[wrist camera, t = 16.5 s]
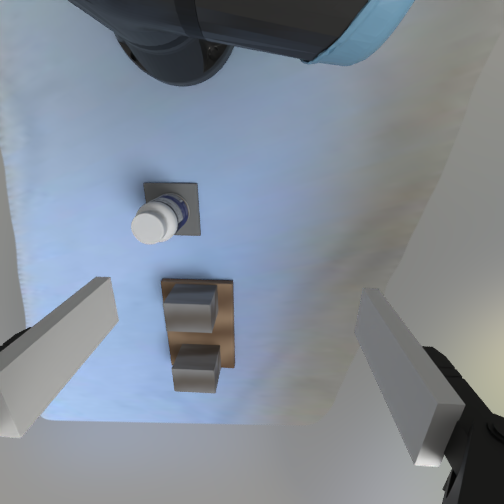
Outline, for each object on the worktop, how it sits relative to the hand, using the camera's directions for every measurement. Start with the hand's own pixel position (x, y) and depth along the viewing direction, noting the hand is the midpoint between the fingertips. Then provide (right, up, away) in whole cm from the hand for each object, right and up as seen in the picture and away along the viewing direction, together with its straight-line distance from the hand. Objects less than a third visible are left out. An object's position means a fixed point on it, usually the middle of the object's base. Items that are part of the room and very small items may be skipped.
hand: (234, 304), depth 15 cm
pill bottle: (-11, +9, +28) cm, 31 cm away
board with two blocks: (-8, -10, +36) cm, 38 cm away
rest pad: (-11, +9, +28) cm, 31 cm away
